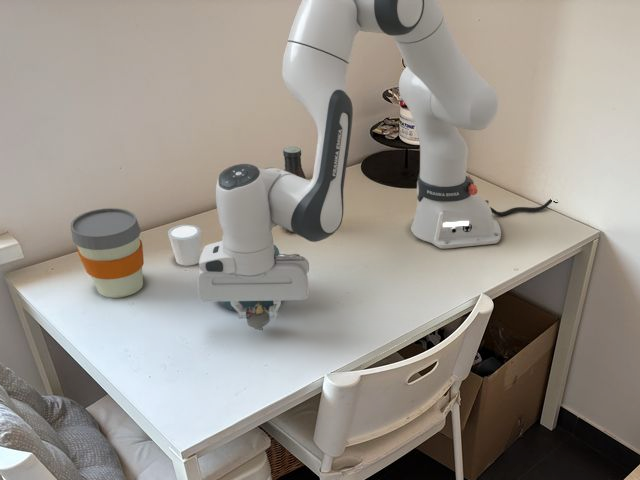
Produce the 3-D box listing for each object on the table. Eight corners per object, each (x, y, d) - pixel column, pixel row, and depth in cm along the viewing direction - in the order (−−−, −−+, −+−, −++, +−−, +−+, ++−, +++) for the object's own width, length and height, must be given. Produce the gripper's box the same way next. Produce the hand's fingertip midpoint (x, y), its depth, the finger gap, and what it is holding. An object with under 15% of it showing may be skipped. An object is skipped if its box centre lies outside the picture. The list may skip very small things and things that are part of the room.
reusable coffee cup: (165, 283, 151) (151, 219, 142) (114, 309, 142) (96, 243, 133) (126, 264, 156) (110, 201, 146) (74, 288, 147) (54, 224, 138)
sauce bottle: (305, 235, 171) (300, 157, 159) (280, 232, 171) (273, 153, 159) (313, 223, 176) (309, 146, 164) (289, 220, 176) (283, 143, 164)
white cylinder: (211, 257, 160) (207, 230, 156) (188, 270, 155) (183, 242, 151) (189, 248, 163) (184, 221, 158) (166, 260, 158) (160, 232, 154)
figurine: (261, 335, 136) (257, 310, 132) (242, 329, 137) (238, 303, 134) (276, 321, 140) (273, 296, 136) (257, 315, 141) (254, 290, 138)
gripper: (308, 245, 133) (313, 306, 141) (195, 246, 130) (207, 307, 139) (307, 263, 128) (312, 324, 136) (189, 264, 125) (202, 327, 134)
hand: (258, 316), depth 137 cm, fingers closed on figurine, 4 cm apart
